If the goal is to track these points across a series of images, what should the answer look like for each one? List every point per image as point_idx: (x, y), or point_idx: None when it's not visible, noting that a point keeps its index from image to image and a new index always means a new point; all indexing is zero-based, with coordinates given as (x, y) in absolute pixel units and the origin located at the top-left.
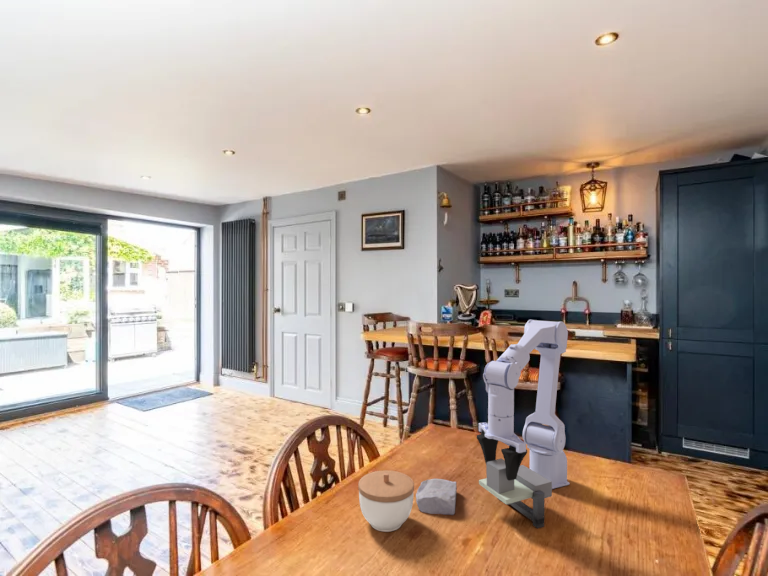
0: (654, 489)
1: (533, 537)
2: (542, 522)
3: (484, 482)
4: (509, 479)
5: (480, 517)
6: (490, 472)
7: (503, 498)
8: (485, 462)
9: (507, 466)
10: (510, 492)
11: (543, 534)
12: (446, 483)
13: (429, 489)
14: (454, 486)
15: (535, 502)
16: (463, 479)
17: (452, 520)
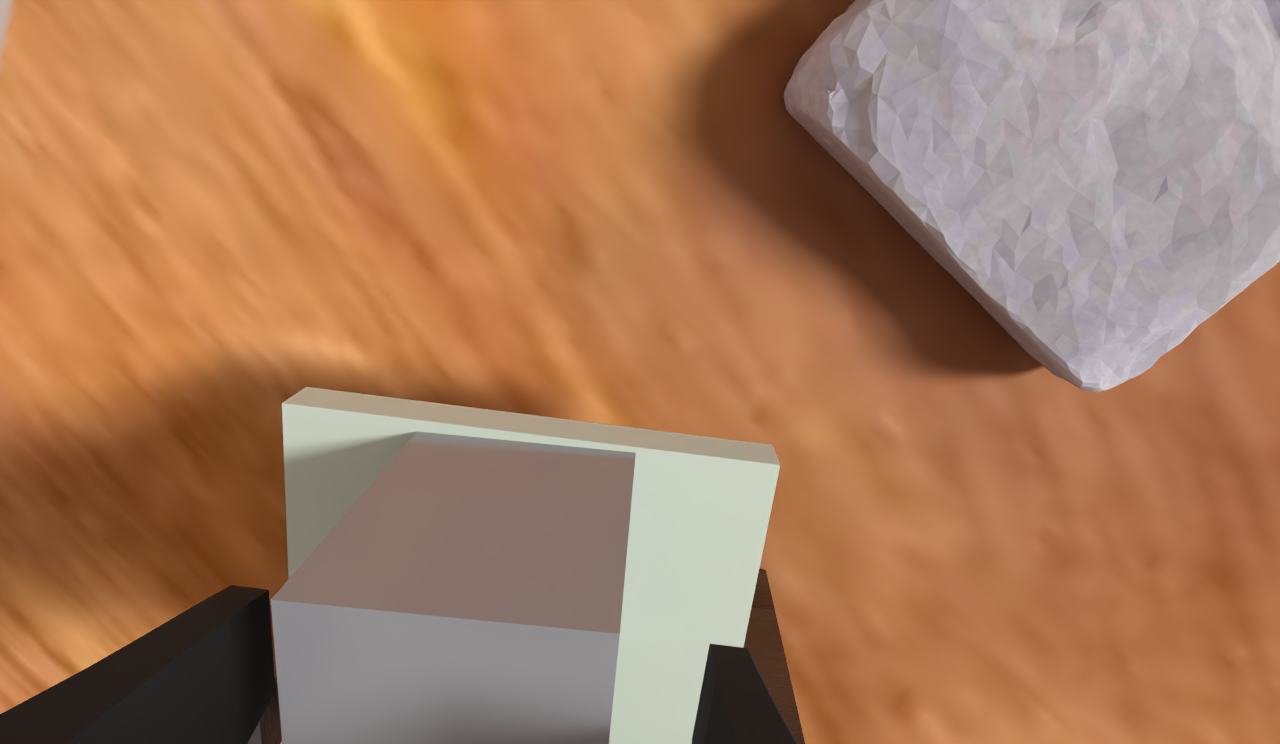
0: None
1: (272, 423)
2: None
3: (698, 476)
4: (211, 597)
5: (634, 277)
6: (527, 543)
7: (329, 407)
8: (755, 671)
9: (25, 722)
10: None
11: (276, 501)
12: (1132, 274)
13: (1187, 28)
14: (1036, 316)
15: (272, 637)
16: (1150, 556)
17: (722, 24)
